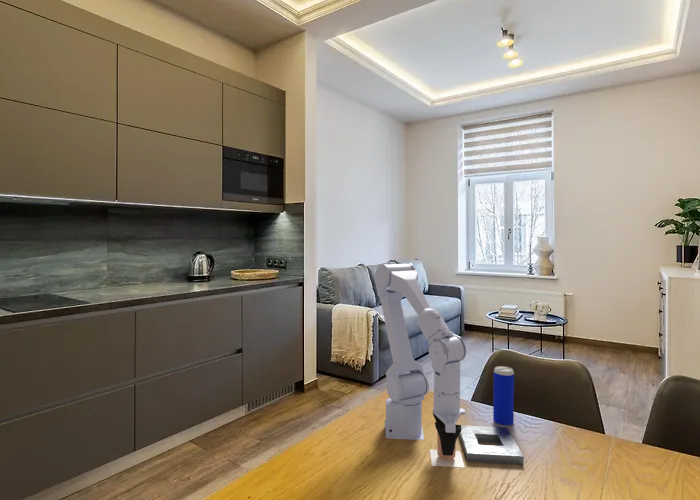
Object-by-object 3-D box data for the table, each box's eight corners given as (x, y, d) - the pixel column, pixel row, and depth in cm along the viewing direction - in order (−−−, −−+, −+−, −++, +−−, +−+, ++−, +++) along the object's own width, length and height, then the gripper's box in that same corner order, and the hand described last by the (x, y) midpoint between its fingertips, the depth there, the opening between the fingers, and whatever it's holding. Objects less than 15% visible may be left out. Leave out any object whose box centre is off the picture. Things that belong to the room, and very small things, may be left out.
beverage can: (510, 419, 117) (511, 366, 116) (515, 428, 111) (516, 372, 111) (491, 418, 117) (491, 365, 117) (495, 427, 112) (496, 371, 111)
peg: (438, 458, 94) (438, 432, 93) (436, 449, 98) (436, 424, 97) (456, 459, 93) (456, 433, 93) (454, 450, 97) (454, 425, 97)
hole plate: (467, 464, 94) (467, 452, 94) (458, 434, 108) (458, 424, 108) (523, 467, 93) (523, 455, 92) (507, 437, 106) (507, 427, 106)
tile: (432, 468, 92) (432, 465, 92) (429, 451, 99) (429, 449, 99) (464, 470, 92) (464, 467, 92) (460, 453, 99) (460, 451, 98)
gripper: (470, 403, 87) (469, 468, 88) (460, 379, 102) (459, 434, 102) (436, 402, 88) (435, 465, 89) (430, 378, 102) (430, 433, 103)
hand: (446, 449), depth 95 cm, fingers closed on peg, 4 cm apart
